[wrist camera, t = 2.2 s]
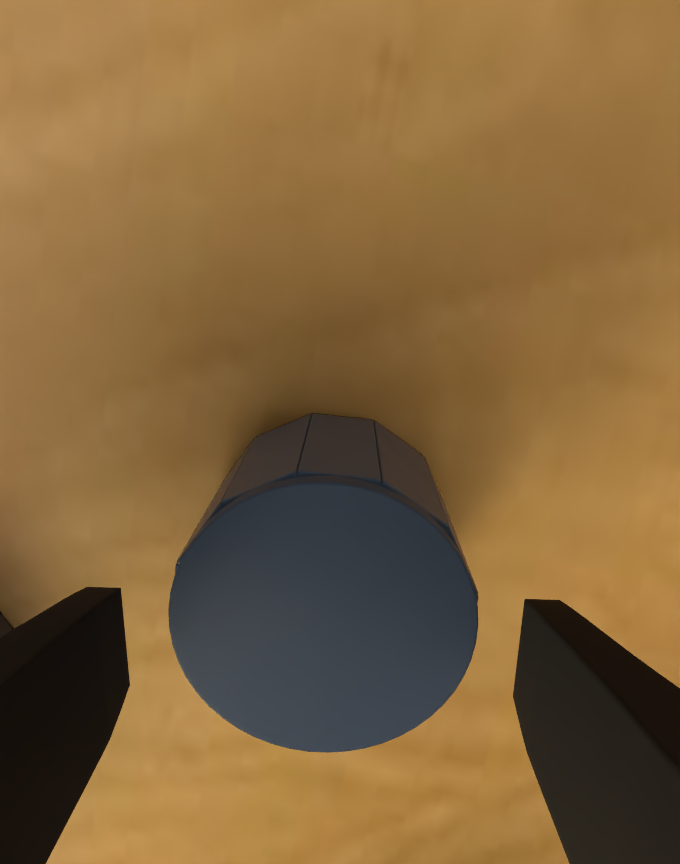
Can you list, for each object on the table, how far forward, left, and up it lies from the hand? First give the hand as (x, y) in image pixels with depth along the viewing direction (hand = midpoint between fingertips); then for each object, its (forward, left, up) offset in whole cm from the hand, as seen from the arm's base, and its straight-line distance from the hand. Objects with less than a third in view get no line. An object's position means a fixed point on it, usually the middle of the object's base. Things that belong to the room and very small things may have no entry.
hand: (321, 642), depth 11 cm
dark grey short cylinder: (0, 0, -5) cm, 5 cm away
